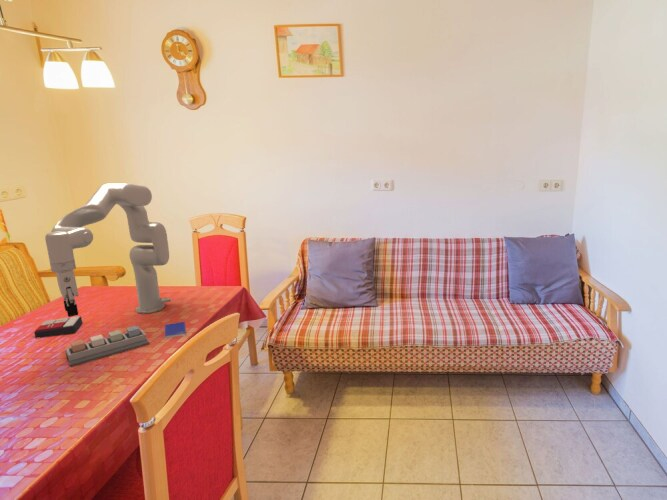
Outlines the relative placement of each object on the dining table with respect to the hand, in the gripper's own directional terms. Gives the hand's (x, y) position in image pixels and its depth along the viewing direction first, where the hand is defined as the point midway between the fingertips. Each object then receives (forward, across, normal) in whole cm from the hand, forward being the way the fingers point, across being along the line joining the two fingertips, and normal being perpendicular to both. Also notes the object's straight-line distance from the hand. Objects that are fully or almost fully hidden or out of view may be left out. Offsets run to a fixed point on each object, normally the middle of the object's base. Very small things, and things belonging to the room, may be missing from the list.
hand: (71, 312), depth 157 cm
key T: (+15, 0, -19) cm, 24 cm away
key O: (+15, 0, -7) cm, 16 cm away
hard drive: (+18, -1, -35) cm, 40 cm away
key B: (+15, 0, 0) cm, 15 cm away
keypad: (+18, 0, -10) cm, 20 cm away
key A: (+15, 0, -13) cm, 20 cm away
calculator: (+18, +33, +3) cm, 37 cm away
